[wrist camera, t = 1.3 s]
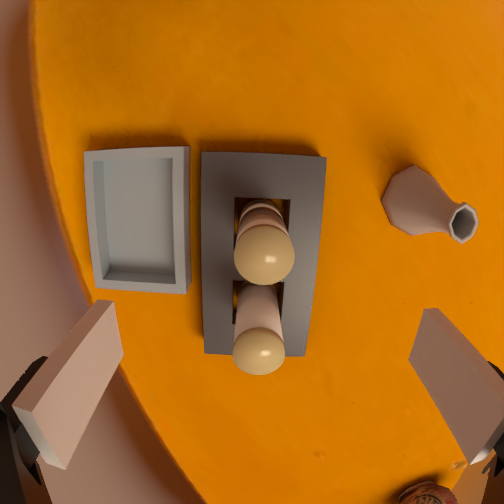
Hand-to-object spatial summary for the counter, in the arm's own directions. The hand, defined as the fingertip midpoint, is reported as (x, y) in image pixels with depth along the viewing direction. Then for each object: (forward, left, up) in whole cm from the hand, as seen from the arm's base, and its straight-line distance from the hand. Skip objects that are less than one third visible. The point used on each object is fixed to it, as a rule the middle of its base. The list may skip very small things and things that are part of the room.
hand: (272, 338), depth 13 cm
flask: (-3, +16, -21) cm, 26 cm away
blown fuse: (0, 0, -20) cm, 20 cm away
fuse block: (+4, 0, -20) cm, 21 cm away
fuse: (+8, 0, -20) cm, 22 cm away
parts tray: (0, -12, -20) cm, 23 cm away
